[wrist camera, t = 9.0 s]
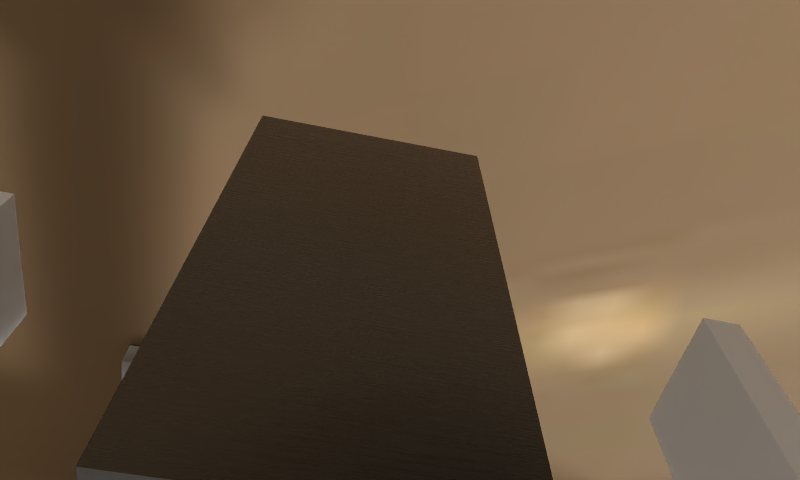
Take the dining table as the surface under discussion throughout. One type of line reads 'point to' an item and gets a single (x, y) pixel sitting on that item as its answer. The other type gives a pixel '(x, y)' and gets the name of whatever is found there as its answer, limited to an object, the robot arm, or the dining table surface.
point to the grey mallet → (332, 329)
